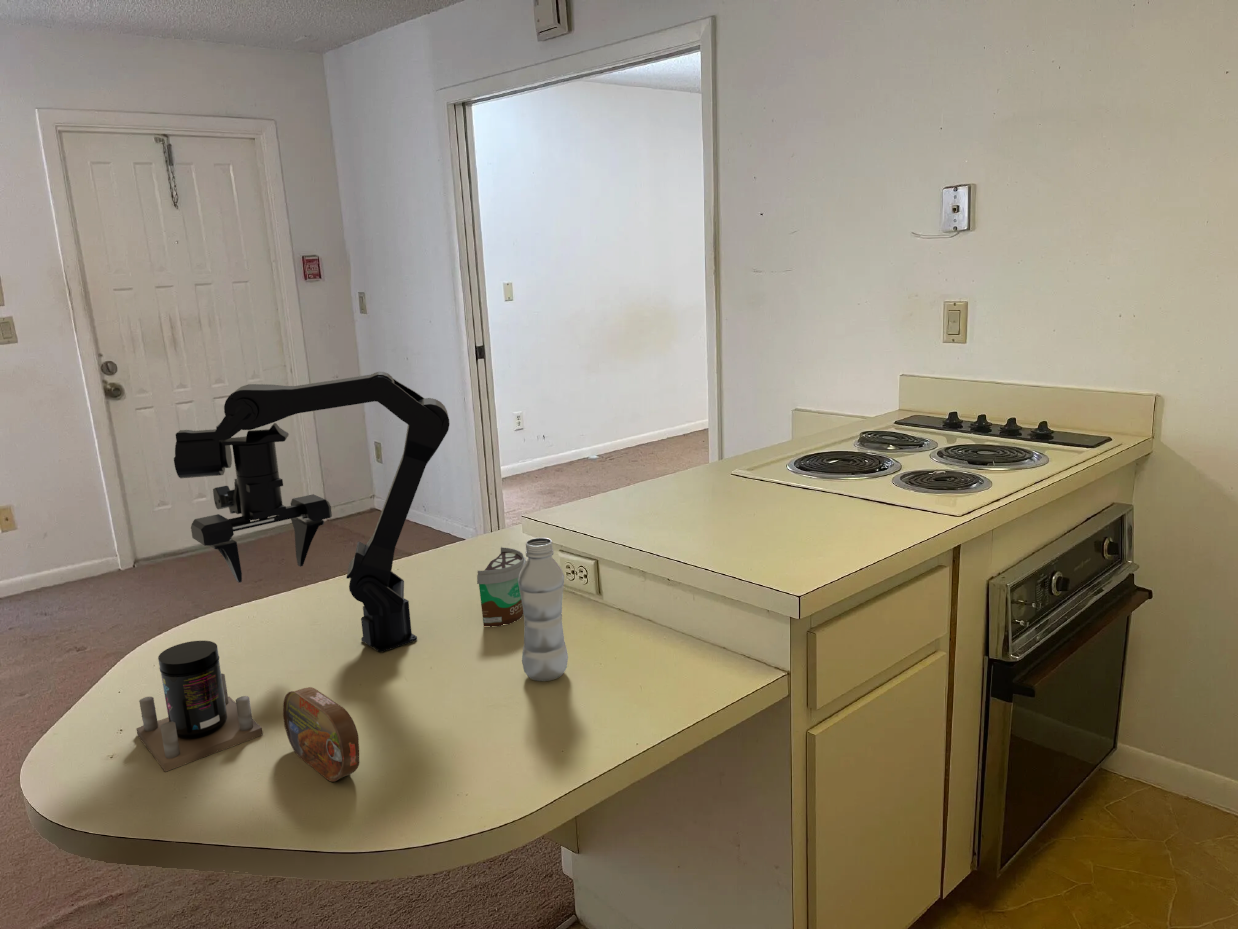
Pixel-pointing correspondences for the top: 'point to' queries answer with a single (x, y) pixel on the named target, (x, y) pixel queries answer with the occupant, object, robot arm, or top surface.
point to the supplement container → (193, 688)
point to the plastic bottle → (542, 612)
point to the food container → (501, 588)
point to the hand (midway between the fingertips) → (270, 573)
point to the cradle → (182, 751)
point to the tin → (321, 733)
